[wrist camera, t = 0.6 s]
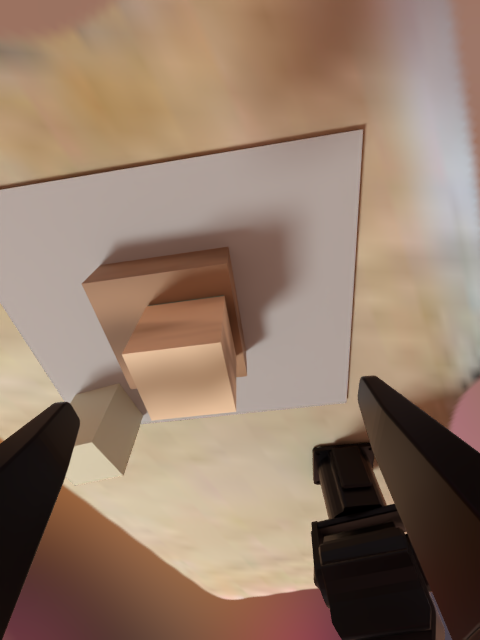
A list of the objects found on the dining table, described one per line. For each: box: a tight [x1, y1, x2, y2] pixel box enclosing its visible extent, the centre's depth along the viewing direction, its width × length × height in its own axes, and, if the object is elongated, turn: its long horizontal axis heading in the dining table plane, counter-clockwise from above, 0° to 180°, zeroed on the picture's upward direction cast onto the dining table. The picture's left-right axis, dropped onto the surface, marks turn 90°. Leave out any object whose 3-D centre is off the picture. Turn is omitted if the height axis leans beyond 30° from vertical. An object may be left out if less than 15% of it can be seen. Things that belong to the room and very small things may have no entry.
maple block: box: [122, 295, 237, 421], centre depth 18 cm, size 5×5×5 cm
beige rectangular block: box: [65, 383, 143, 486], centre depth 26 cm, size 4×4×6 cm
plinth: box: [82, 247, 247, 389], centre depth 22 cm, size 9×9×3 cm
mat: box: [0, 129, 363, 424], centre depth 24 cm, size 22×26×1 cm
